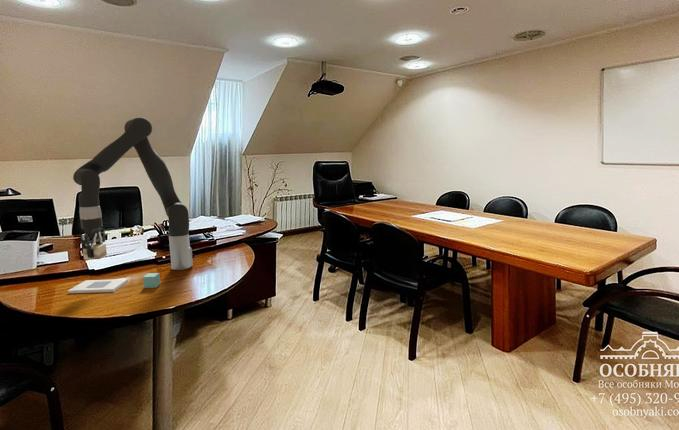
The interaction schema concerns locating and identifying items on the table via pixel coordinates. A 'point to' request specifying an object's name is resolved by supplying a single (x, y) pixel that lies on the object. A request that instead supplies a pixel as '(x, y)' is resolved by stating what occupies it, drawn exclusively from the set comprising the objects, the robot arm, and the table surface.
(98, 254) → the birch block
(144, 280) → the teal cube
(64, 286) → the table surface
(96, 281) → the board
